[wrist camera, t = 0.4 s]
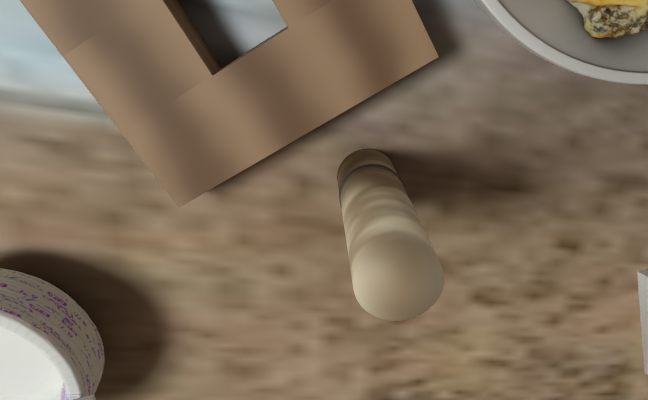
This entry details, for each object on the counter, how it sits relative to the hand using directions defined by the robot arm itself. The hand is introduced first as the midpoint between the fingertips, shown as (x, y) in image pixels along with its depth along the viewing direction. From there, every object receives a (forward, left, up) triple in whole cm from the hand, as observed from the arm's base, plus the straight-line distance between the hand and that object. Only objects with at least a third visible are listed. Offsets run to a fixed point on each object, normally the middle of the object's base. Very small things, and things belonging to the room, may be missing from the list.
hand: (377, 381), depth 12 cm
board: (+2, -10, -26) cm, 28 cm away
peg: (0, +5, -26) cm, 27 cm away
